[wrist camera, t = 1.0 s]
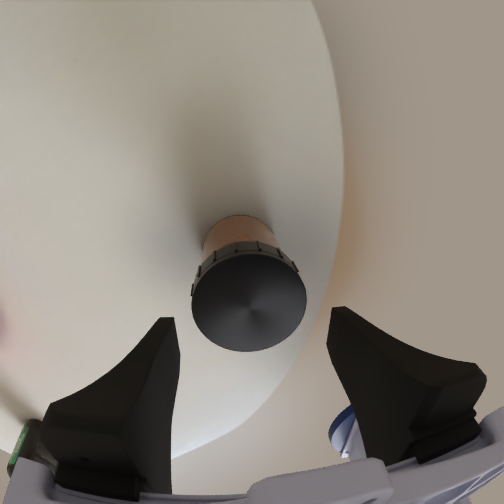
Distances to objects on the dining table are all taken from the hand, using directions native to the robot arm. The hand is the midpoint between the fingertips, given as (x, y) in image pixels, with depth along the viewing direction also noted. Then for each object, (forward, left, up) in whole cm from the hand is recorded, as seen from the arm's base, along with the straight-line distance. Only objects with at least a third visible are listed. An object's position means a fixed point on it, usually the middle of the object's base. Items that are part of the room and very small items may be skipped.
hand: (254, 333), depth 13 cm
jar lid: (0, 0, -2) cm, 2 cm away
